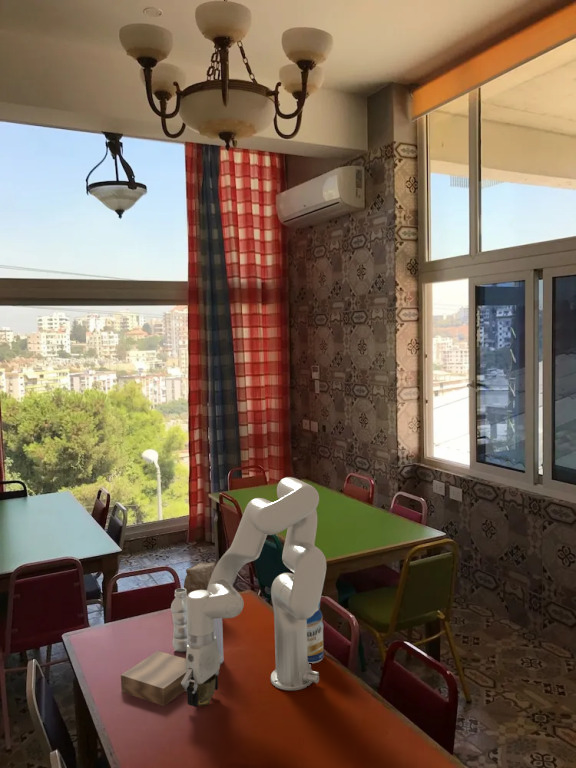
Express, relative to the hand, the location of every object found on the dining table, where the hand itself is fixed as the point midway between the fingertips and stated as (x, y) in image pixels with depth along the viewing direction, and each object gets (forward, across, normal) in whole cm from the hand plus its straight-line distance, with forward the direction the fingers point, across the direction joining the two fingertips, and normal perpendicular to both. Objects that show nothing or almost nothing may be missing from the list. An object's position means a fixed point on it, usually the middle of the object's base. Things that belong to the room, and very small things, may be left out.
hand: (203, 696), depth 176 cm
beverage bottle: (+2, +36, -15) cm, 39 cm away
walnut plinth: (+2, +2, +17) cm, 17 cm away
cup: (+2, 0, 0) cm, 2 cm away
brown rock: (+2, +42, +31) cm, 52 cm away
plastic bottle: (+2, +22, +25) cm, 33 cm away
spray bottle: (+2, +20, +11) cm, 23 cm away
